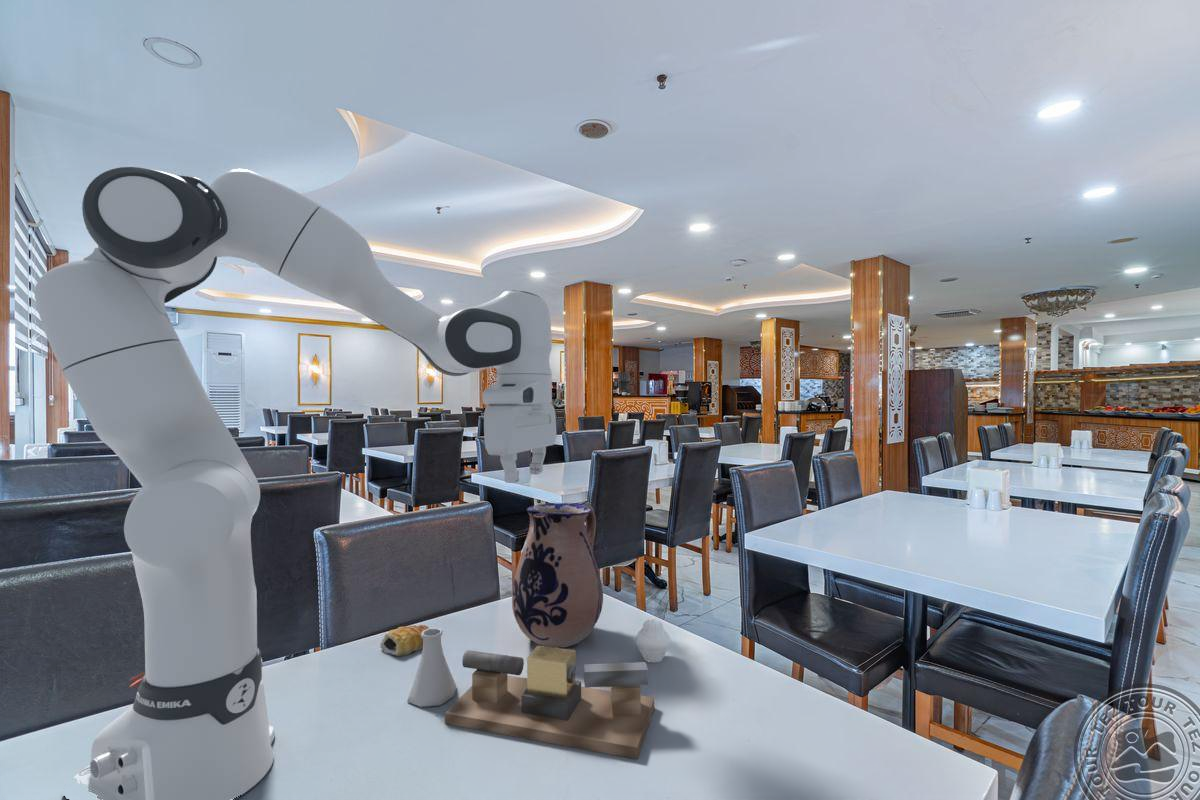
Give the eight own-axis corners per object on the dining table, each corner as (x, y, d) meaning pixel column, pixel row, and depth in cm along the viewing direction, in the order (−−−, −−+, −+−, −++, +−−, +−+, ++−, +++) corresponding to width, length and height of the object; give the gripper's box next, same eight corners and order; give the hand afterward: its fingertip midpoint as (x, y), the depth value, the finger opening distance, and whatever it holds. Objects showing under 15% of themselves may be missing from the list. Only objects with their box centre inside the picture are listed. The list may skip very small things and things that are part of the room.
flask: (442, 711, 81) (442, 644, 81) (398, 706, 82) (398, 640, 82) (464, 685, 88) (463, 624, 88) (423, 681, 90) (422, 620, 89)
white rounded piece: (628, 659, 97) (628, 619, 96) (649, 647, 101) (649, 609, 101) (657, 670, 92) (657, 629, 92) (677, 658, 97) (677, 618, 97)
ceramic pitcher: (493, 649, 101) (493, 514, 100) (548, 608, 120) (547, 494, 120) (580, 667, 94) (579, 522, 94) (623, 620, 113) (622, 500, 113)
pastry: (418, 632, 108) (418, 613, 108) (441, 641, 105) (441, 621, 105) (376, 651, 101) (376, 630, 100) (400, 661, 97) (400, 639, 97)
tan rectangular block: (525, 692, 79) (525, 657, 79) (536, 678, 82) (536, 645, 82) (568, 698, 77) (568, 663, 77) (577, 684, 81) (577, 650, 81)
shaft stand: (445, 723, 78) (444, 669, 78) (485, 681, 89) (485, 634, 89) (637, 759, 70) (636, 699, 70) (654, 707, 81) (654, 656, 81)
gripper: (532, 393, 100) (532, 469, 100) (476, 392, 80) (476, 486, 80) (565, 393, 98) (565, 470, 98) (515, 392, 78) (515, 488, 78)
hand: (524, 478), depth 89 cm, fingers open, 8 cm apart
